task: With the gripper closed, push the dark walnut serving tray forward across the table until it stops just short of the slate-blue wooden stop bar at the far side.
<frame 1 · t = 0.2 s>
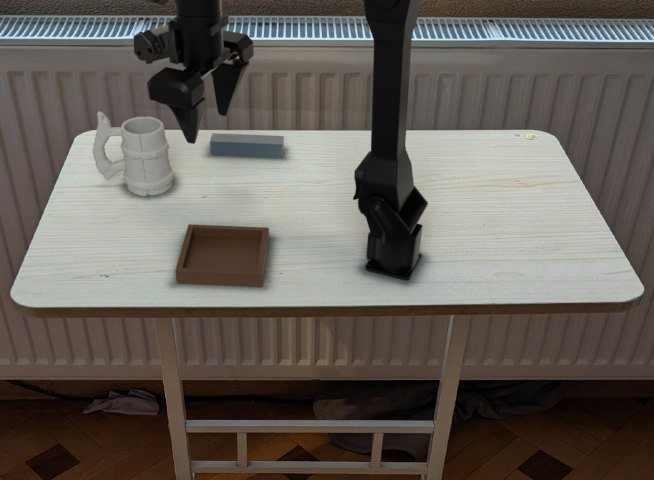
hand: (207, 128, 114), 15 cm above the table, tool pointing down, fingers open, 9 cm apart
stop bar: (247, 152, 140), on the table
tray: (224, 260, 117), on the table
mug: (137, 186, 131), on the table
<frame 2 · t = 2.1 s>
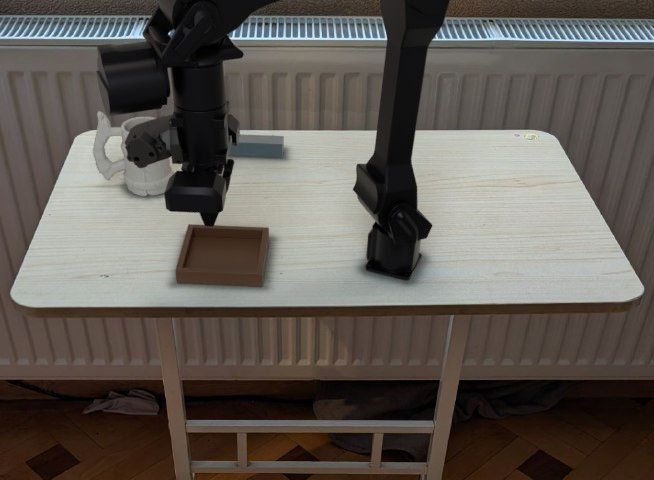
hand: (209, 225, 101), 12 cm above the table, tool pointing down, fingers closed
nothing on the table moved.
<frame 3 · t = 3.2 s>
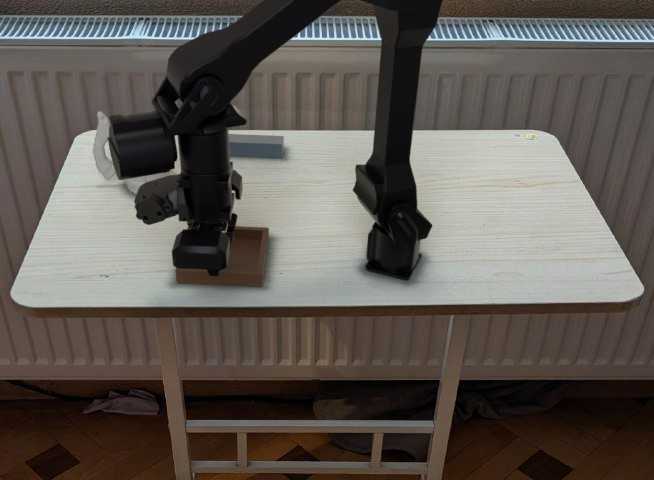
hand: (213, 274, 106), 5 cm above the table, tool pointing down, fingers closed
nothing on the table moved.
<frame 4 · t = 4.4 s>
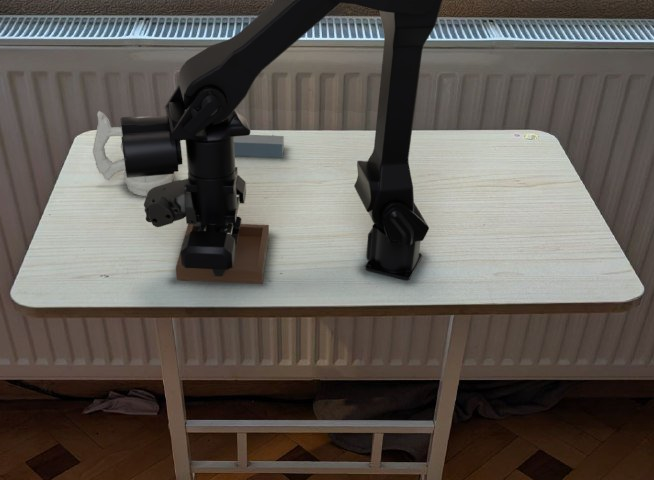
hand: (218, 275, 111), 2 cm above the table, tool pointing down, fingers closed
tray: (224, 258, 117), on the table, touching gripper
everything else where it was.
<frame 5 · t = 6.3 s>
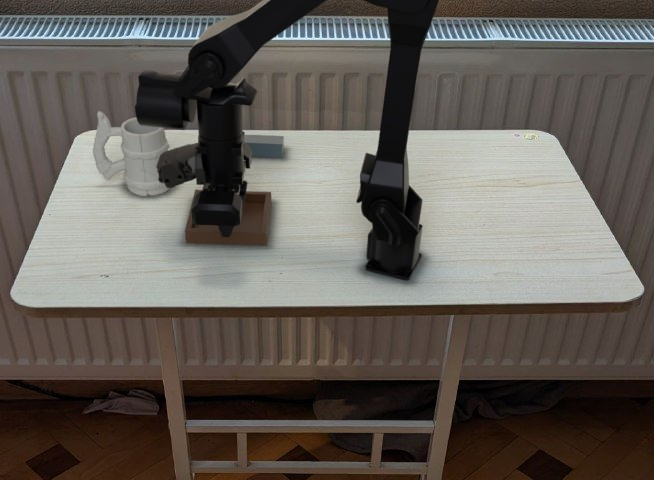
hand: (225, 236, 118), 2 cm above the table, tool pointing down, fingers closed
tray: (230, 222, 124), on the table, touching gripper
everything else where it was.
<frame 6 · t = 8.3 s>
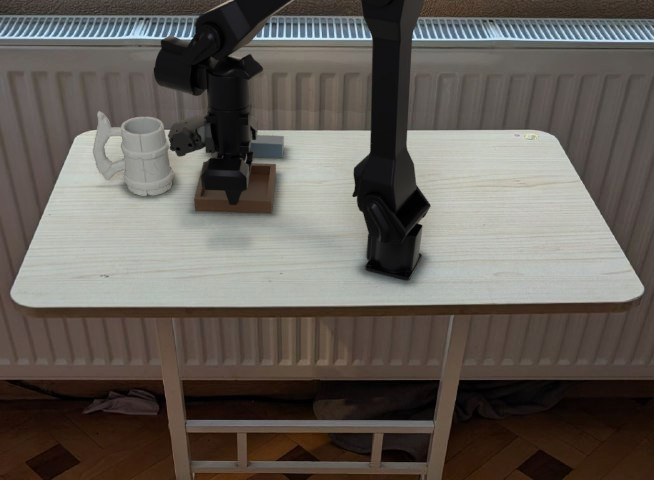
hand: (233, 204, 124), 2 cm above the table, tool pointing down, fingers closed
tray: (236, 192, 130), on the table, touching gripper
everything else where it was.
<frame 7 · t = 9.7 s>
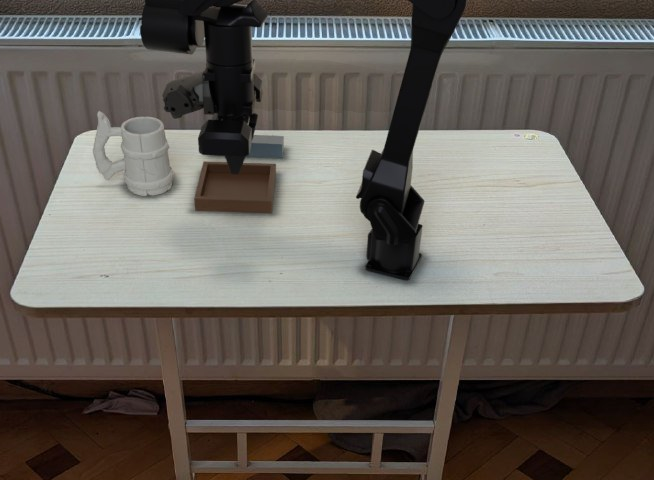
hand: (235, 173, 113), 11 cm above the table, tool pointing down, fingers closed
tray: (237, 192, 130), on the table
everything else where it was.
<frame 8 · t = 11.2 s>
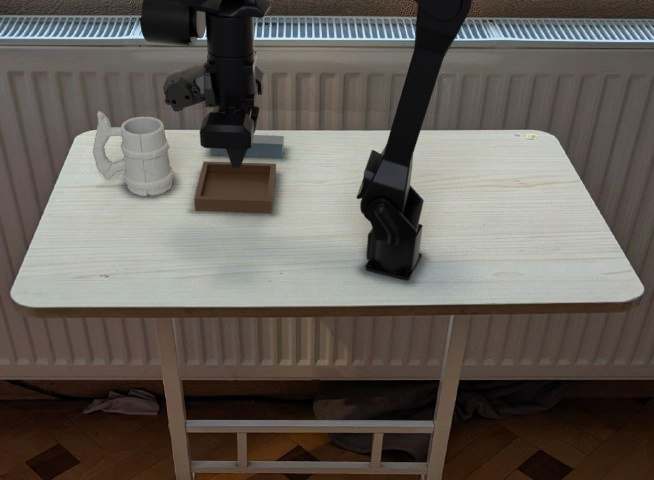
hand: (236, 166, 112), 12 cm above the table, tool pointing down, fingers closed
nothing on the table moved.
at the end: tray inside the target area on the table beside the stop bar (1.1 cm from its centre), on the table; tray moved 18.8 cm from its start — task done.
